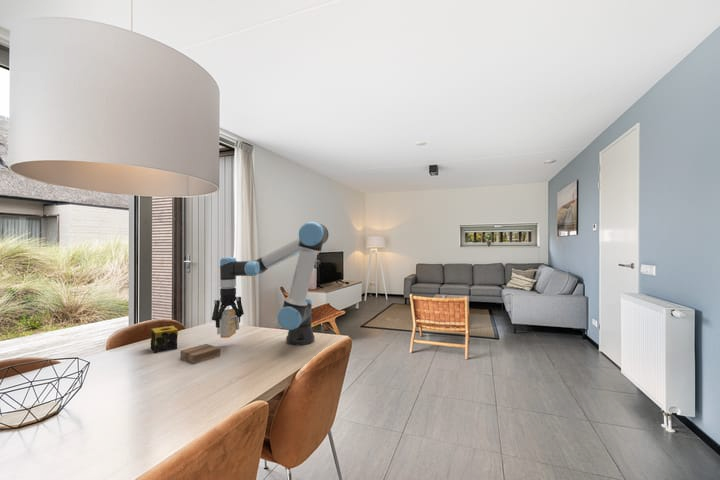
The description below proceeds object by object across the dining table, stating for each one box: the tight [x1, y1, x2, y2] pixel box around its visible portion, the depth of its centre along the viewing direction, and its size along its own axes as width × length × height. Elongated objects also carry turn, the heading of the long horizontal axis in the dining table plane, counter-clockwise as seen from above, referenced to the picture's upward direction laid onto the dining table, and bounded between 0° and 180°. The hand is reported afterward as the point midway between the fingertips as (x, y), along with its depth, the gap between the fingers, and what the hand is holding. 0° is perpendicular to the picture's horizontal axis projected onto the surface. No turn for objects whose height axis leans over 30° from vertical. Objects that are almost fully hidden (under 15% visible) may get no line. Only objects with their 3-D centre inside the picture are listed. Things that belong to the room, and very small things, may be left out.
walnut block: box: [180, 343, 221, 365], centre depth 143 cm, size 12×12×4 cm
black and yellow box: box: [150, 325, 179, 354], centre depth 155 cm, size 10×10×10 cm
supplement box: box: [219, 308, 237, 339], centre depth 159 cm, size 8×5×13 cm, turn 179°
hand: (228, 331), depth 159 cm, fingers closed on supplement box, 9 cm apart
